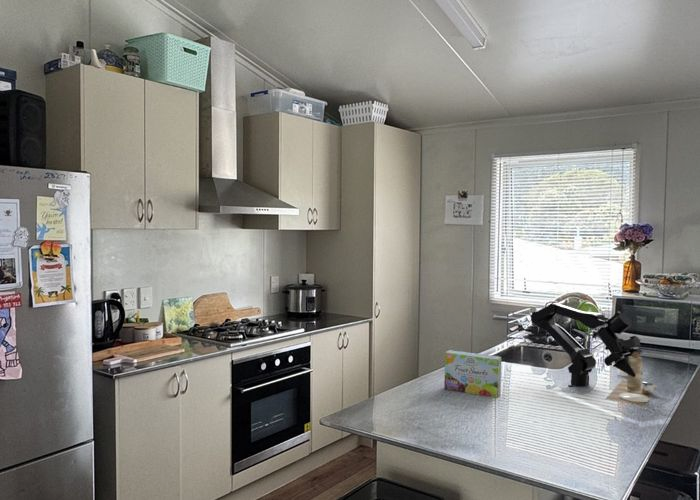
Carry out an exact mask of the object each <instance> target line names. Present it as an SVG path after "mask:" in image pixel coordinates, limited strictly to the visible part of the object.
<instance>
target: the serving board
mask: <svg viewBox="0 0 700 500" xmlns="http://www.w3.org/2000/svg"><path fill="white" fill-rule="evenodd" d="M626 388H627V380H621V381H620V382H619V383H618V384H617V386H616V387H615V388H613V390H612V391H611V392H610V393H609V394H608V395H607V396H606V397H605V400H608V401H613V402H617V403H618V402H619V403H625V404H631V405H634V406H641V407H644V406H645V405H646V404H647V402H644V403H639V402H631V401H626V400H623V399H621V398H620V397H619V394H622V393H630V392H627V391H626ZM656 388H657V385H655V384H654V385H653V392H654V391H655V389H656ZM641 391H642V382H641ZM633 394H637V393H633ZM638 394H639V395H643V396H646V397H647V398H649V399H650V397H651V396H652V395H646V394H642V393H638Z"/></svg>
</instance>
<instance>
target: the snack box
mask: <svg viewBox="0 0 700 500" xmlns="http://www.w3.org/2000/svg"><path fill="white" fill-rule="evenodd" d="M444 355H445V356H444V357H445V358H444V359H445V360H444V382H443V389H444V390H449V391H455V392H461V393H466V394H471V395H479V396H485V397H490V398H495V399H497V398H499V396H500V395H501V382H502V356H497V355H489V354H485V353H483V354H482V353H475V352H468V351H459V350H453V349H449V350H447V351H445V352H444Z"/></svg>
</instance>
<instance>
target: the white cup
mask: <svg viewBox="0 0 700 500" xmlns="http://www.w3.org/2000/svg"><path fill="white" fill-rule="evenodd" d="M617 375H618V376H621V377H627V378H628V374H627V373H625V372H623V371H622V370H620V369H618V368H617Z"/></svg>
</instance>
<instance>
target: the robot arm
mask: <svg viewBox="0 0 700 500" xmlns="http://www.w3.org/2000/svg"><path fill="white" fill-rule="evenodd" d="M556 315H560V316H563V317H566V318H568V319H572V320H575V321H578V322H580V323H581V324H582V325H583V326H585V327H587V328H589V329H598V328H599V329H598V330H593V333H592V338H593V339H595V338H599V339H600V340H601V342H602V343H603V344H604V346H605V347H604V349H605V350H606V351H609V355H607V356H606V357H605V358H604V359H603V360H604V361H603V363H604V365H606V367H611V366H612V367H613V368H616V369H617V370H618V369H620V370H622V371H623V372H625V373H627V374H629V375H630V376H632V377H635V376H636V375H635V373H634V371H633V370H632V368H631V366H630V365H629V363H628V360H629V356H632V353H633V352H635V351H636V352H638V353H639V356H640V355H641V354H642V353H643V350H642V349H641V348H640V346H641V344H640V343H641V339H640V338H639V336H637V335H633V336H629V339H626V340H625V339H624V338H621V337H619V336H618V335H621V334H622V333H623V332H625V331H626V330H627V329H629V328H630V327H631V326H632V324H633V323H632V321H631V319H630V318H629V317H628V316H626V315H625V314H623V313H622V312H621V311H616V313H614V314H613V315H612V316H611V317H607V316H605V315H604V314H603V313H600V312H595V311H583V310H580V309H578V308H577V309H576V308H573V307H571V306H568V305H564V304H561V303H559V302H554V303H550V304H548V305H547V306H545V307H543V308H541V309H540V310H535V311H532V313H531V314H530V321H531V323H532V324H534V325H535V326H536V327H537V328H539V329H541V330H543V331H545V332H546V333H547V334H548V335H549V336H550V337H551V339H553V340H554V341H555V342H556V343H557V344H558V345H559V346H560V347H561V348H562V350H564V351H565V352H566V353H567V354H568V356H569V358H570V362H571V363H572V364H571V365H569V366H568V368H567V369H568V372H569V373H570V377H571V378H570V384H567V386H568V387H569V388H574V387H579V388H587V386H589V385H590V376H589V374H590V373H592V371H593V369H594V368H595V366H596V358H595V357H594V354H592V353H591V352H590V351H589V349H587V348H579V347H578V346H577V345H576V344H575V343H574V341H572V340H571V338H570V337H569V336H567V334H566V333H565V332H564V331H562V329H561V328H559V326H557V324H556V323H555V320H554V317H556ZM604 326H605V327H604ZM613 363H614V364H613ZM642 375H643V372H642V373H641V376H642Z"/></svg>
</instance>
